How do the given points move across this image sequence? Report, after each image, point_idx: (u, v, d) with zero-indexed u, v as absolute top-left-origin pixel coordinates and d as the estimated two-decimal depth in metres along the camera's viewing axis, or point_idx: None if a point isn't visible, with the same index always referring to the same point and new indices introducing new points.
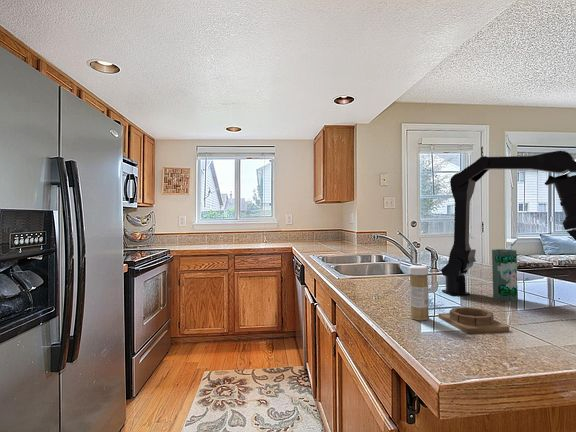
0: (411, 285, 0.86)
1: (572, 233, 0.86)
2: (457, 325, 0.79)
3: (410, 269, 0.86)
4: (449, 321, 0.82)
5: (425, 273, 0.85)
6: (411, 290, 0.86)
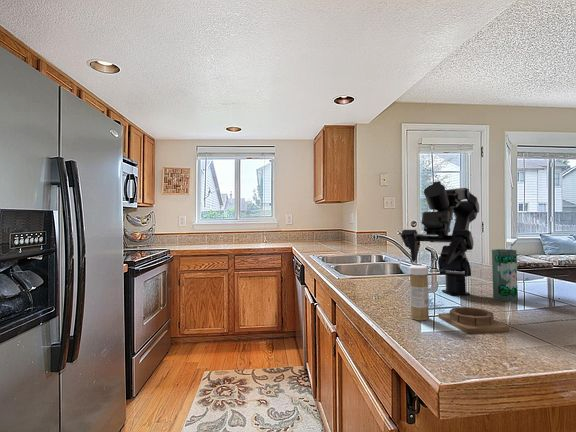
0: (411, 285, 0.86)
1: None
2: (457, 325, 0.79)
3: (410, 269, 0.86)
4: (449, 321, 0.82)
5: (425, 273, 0.85)
6: (411, 290, 0.86)
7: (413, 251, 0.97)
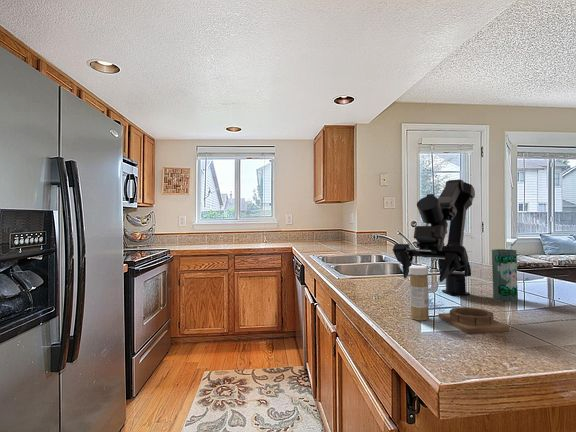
0: (411, 285, 0.86)
1: None
2: (457, 325, 0.79)
3: (410, 269, 0.86)
4: (449, 321, 0.82)
5: (425, 273, 0.85)
6: (411, 290, 0.86)
7: (405, 267, 0.92)
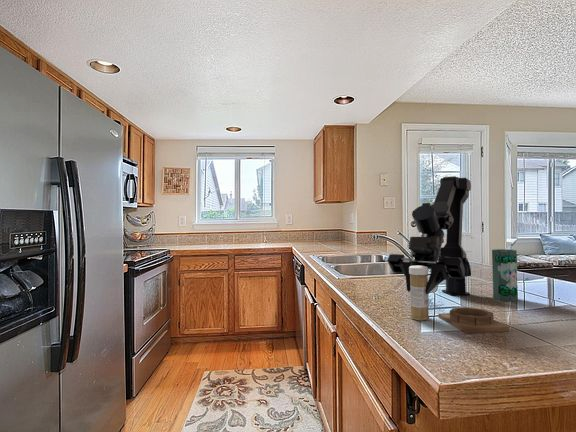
0: (411, 285, 0.86)
1: None
2: (457, 325, 0.79)
3: (410, 269, 0.86)
4: (449, 321, 0.82)
5: (425, 273, 0.85)
6: (411, 290, 0.86)
7: (408, 279, 0.88)
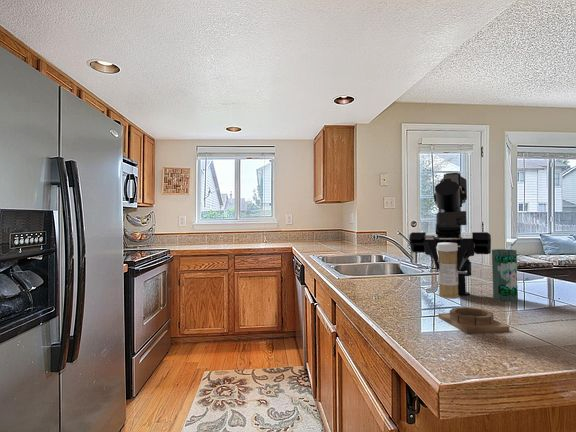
0: (441, 262, 0.82)
1: (430, 254, 0.89)
2: (457, 325, 0.79)
3: (440, 246, 0.82)
4: (449, 321, 0.82)
5: (456, 249, 0.81)
6: (441, 268, 0.82)
7: (436, 257, 0.84)
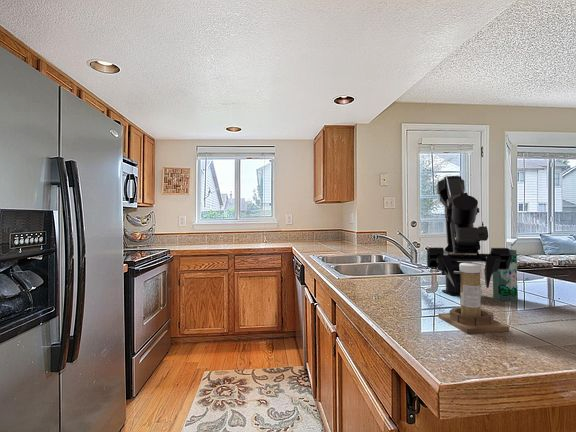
0: (465, 284, 0.80)
1: (443, 269, 0.87)
2: (457, 325, 0.79)
3: (464, 267, 0.80)
4: (449, 321, 0.82)
5: (480, 270, 0.80)
6: (465, 290, 0.80)
7: (453, 273, 0.83)
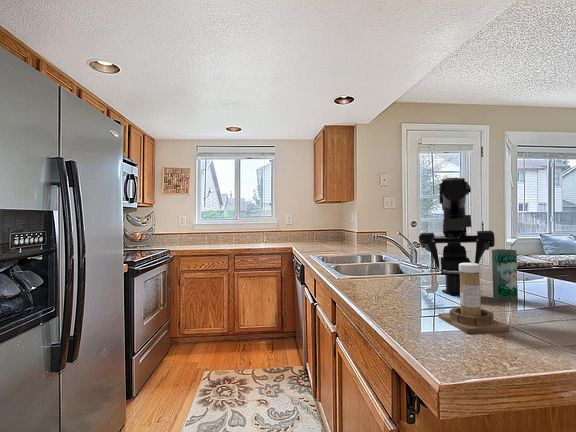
0: (464, 284, 0.81)
1: (431, 250, 0.99)
2: (457, 325, 0.79)
3: (463, 267, 0.80)
4: (449, 321, 0.82)
5: (479, 270, 0.80)
6: (464, 290, 0.81)
7: (436, 258, 0.94)
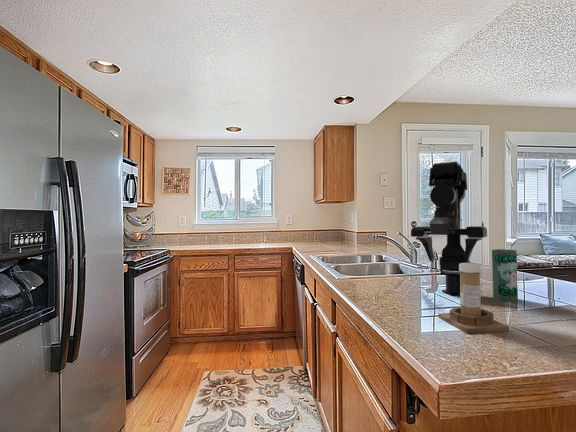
0: (465, 284, 0.81)
1: None
2: (457, 325, 0.79)
3: (464, 267, 0.80)
4: (449, 321, 0.82)
5: (479, 270, 0.80)
6: (464, 290, 0.81)
7: (428, 252, 0.97)
